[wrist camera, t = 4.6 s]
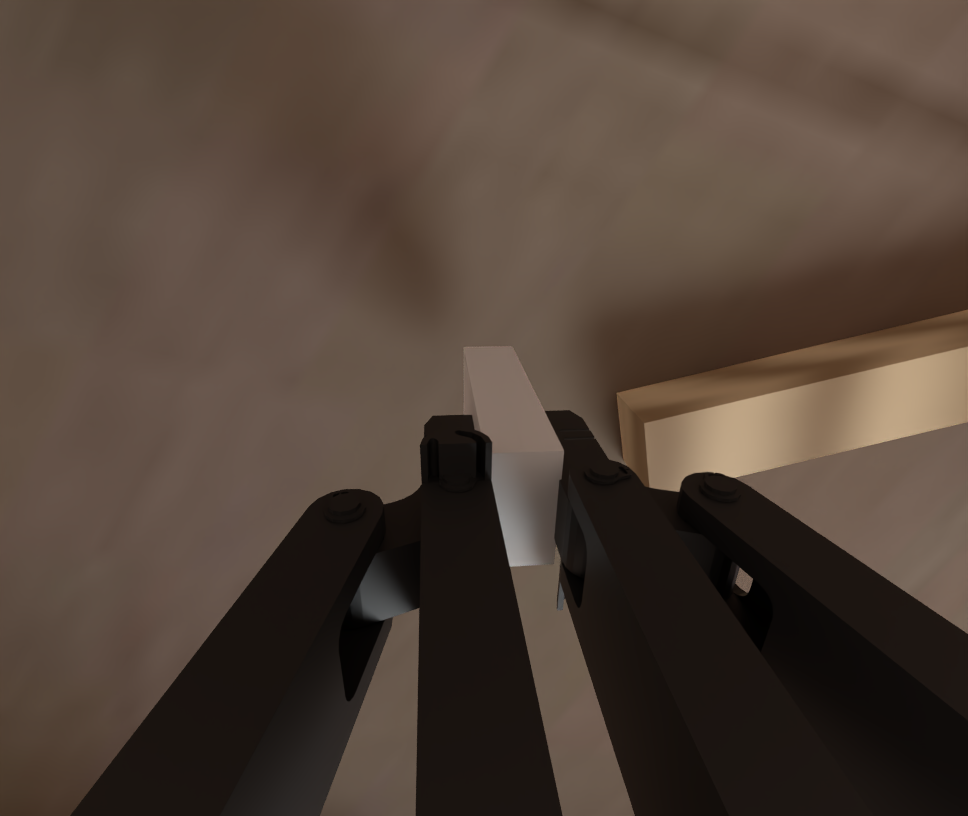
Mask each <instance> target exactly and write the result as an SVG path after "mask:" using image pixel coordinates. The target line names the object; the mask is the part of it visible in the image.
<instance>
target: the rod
mask: <svg viewBox="0 0 968 816" xmlns="http://www.w3.org/2000/svg"><path fill="white" fill-rule="evenodd" d="M616 395H617V404H618V413H619V423H620V432H621V441H622V450H623V460H624V461H625V463H626V464H627V466H628V467H629V468H630V469H631V470H632V471H634V472H635V473H636V474H637V476H638V477H639V479H640V480H641V482H642V483H643V484H644V486H645V487H650V488H655V489H662V490H669V491H680V487H681V482H682V481H683V479H684V478H685V477H686V476H688V475H690V474H693V473H701V472H714V473H721V474H724V475H726V476H729V477H732V478H735V477H739V476H743V475H747V474H752V473H756V472H760V471H764V470H768V469H773V468H777V467H781V466H785V465H789V464H794V463H798V462H802V461H806V460H810V459H814V458H819V457H823V456H827V455H831V454H835V453H840V452H844V451H848V450H852V449H856V448H861V447H865V446H869V445H873V444H877V443H882V442H886V441H890V440H894V439H898V438H902V437H907V436H911V435H915V434H919V433H923V432H928V431H932V430H936V429H940V428H944V427H949V426H953V425H957V424H961V423H965V422H968V310H964V311H960V312H956V313H952V314H947V315H943V316H939V317H935V318H931V319H926V320H922V321H918V322H914V323H909V324H905V325H901V326H897V327H893V328H888V329H884V330H880V331H876V332H871V333H867V334H863V335H859V336H854V337H850V338H846V339H842V340H838V341H833V342H829V343H825V344H821V345H816V346H812V347H808V348H804V349H800V350H795V351H791V352H787V353H783V354H778V355H774V356H770V357H766V358H762V359H757V360H753V361H749V362H745V363H740V364H736V365H732V366H728V367H724V368H719V369H715V370H711V371H707V372H702V373H698V374H694V375H690V376H686V377H681V378H677V379H673V380H669V381H664V382H660V383H656V384H652V385H648V386H643V387H639V388H635V389H631V390H626V391H622V392H618V393H616Z"/></svg>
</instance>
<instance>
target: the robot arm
mask: <svg viewBox="0 0 968 816" xmlns="http://www.w3.org/2000/svg"><path fill="white" fill-rule="evenodd" d="M463 378H464V415H444V416H432V417H431V418H430V419H429V421H428V422H427V423H426V424H425V425H424V438H423V439H422V442H421V444H420V454H421V477H422V485H421V486H420V488H419V489H418V490H417V491H416V492H414V493H413V494H412V495H410V496H408V497H406V498H404V499H402V500H399V501H396V502H392V503H388V504H383V502H382V500H381V499H380V497H379V496H377V495H375V494H374V493H372V492H370V491H365V490H361V489H344V490H340V491H335V492H331V493H329V494H327V495H325V496H323V497H320V498H318V499H317V500H316V501H315V502H314V503H312V504H311V505H310V506H309V507H308V508H307V510H306V511H305V512H304V514H303V515H302V516H301V518H300V519H299V520H298V521H297V523H296V524H295V525H294V527H293V528H292V529H291V530H290V532H289V533H288V534H287V536H286V537H285V538H284V540H283V541H282V542H281V543H280V545H279V546H278V547H277V549H276V550H275V551H274V553H273V554H272V555H271V556H270V558H269V559H268V560H267V562H266V563H265V564H264V565H263V567H262V568H261V569H260V571H259V572H258V573H257V575H256V576H255V577H254V578H253V580H252V581H251V582H250V584H249V585H248V586H247V587H246V589H245V590H244V591H243V593H242V594H241V595H240V597H239V598H238V599H237V600H236V602H235V603H234V604H233V606H232V607H231V608H230V609H229V611H228V612H227V613H226V615H225V616H224V617H223V619H222V620H221V621H220V622H219V624H218V625H217V626H216V628H215V629H214V630H213V631H212V633H211V634H210V635H209V637H208V638H207V639H206V641H205V642H204V643H203V644H202V646H201V647H200V648H199V650H198V651H197V652H196V653H195V655H194V656H193V657H192V659H191V660H190V661H189V663H188V664H187V665H186V666H185V668H184V669H183V670H182V672H181V673H180V674H179V675H178V677H177V678H176V679H175V681H174V682H173V683H172V685H171V686H170V687H169V688H168V690H167V691H166V692H165V694H164V695H163V696H162V697H161V699H160V700H159V701H158V703H157V704H156V705H155V707H154V708H153V709H152V710H151V712H150V713H149V714H148V716H147V717H146V718H145V720H144V721H143V722H142V723H141V725H140V726H139V727H138V729H137V730H136V731H135V732H134V734H133V735H132V736H131V738H130V739H129V740H128V742H127V743H126V744H125V745H124V747H123V748H122V749H121V751H120V752H119V753H118V754H117V756H116V757H115V758H114V760H113V761H112V762H111V764H110V765H109V766H108V767H107V769H106V770H105V771H104V773H103V774H102V775H101V776H100V778H99V779H98V780H97V782H96V783H95V784H94V786H93V787H92V788H91V789H90V791H89V792H88V793H87V795H86V796H85V797H84V798H83V800H82V801H81V802H80V804H79V805H78V806H77V808H76V809H75V810H74V811H73V813H72V814H71V815H70V816H320V813H321V811H322V808H323V805H324V803H325V800H326V797H327V795H328V792H329V789H330V787H331V784H332V782H333V779H334V776H335V774H336V771H337V768H338V766H339V763H340V761H341V758H342V755H343V753H344V750H345V747H346V745H347V742H348V740H349V737H350V734H351V732H352V729H353V726H354V724H355V721H356V718H357V716H358V713H359V711H360V708H361V705H362V703H363V700H364V697H365V695H366V692H367V690H368V687H369V684H370V682H371V679H372V676H373V674H374V671H375V669H376V666H377V663H378V661H379V658H380V655H381V653H382V650H383V647H384V645H385V642H386V640H387V637H388V634H389V632H390V629H391V626H392V619H393V617H394V616H397V615H400V614H403V613H406V612H408V611H411V610H414V609H417V608H420V610H419V665H418V720H417V776H416V816H562V811H561V806H560V802H559V797H558V792H557V787H556V783H555V778H554V773H553V769H552V764H551V759H550V754H549V750H548V745H547V740H546V735H545V731H544V726H543V721H542V717H541V712H540V707H539V702H538V698H537V693H536V688H535V684H534V679H533V674H532V669H531V665H530V660H529V655H528V651H527V646H526V641H525V636H524V632H523V627H522V622H521V618H520V613H519V608H518V603H517V599H516V594H515V589H514V585H513V580H512V575H511V570H510V567H511V566H528V565H545V564H554V557H555V546H556V545H557V548H558V551H559V554H560V557H561V564H560V574H559V584H558V595H557V610H563V601H564V599H566V602H567V605H568V608H569V611H570V614H571V618H572V621H573V624H574V627H575V630H576V633H577V636H578V639H579V642H580V646H581V649H582V652H583V655H584V658H585V661H586V664H587V667H588V671H589V674H590V677H591V680H592V683H593V686H594V689H595V692H596V695H597V699H598V702H599V705H600V708H601V711H602V714H603V717H604V720H605V724H606V727H607V730H608V733H609V736H610V739H611V742H612V745H613V748H614V752H615V755H616V758H617V761H618V764H619V767H620V770H621V773H622V777H623V780H624V783H625V786H626V789H627V792H628V795H629V798H630V801H631V805H632V808H633V811H634V814H635V816H968V634H967V633H965V632H964V631H963V630H961V629H960V628H958V627H957V626H955V625H954V624H952V623H951V622H949V621H948V620H946V619H945V618H943V617H942V616H940V615H939V614H937V613H936V612H934V611H933V610H931V609H930V608H928V607H927V606H926V605H924V604H923V603H921V602H920V601H918V600H917V599H915V598H914V597H912V596H911V595H909V594H908V593H906V592H905V591H903V590H902V589H900V588H899V587H897V586H896V585H894V584H893V583H891V582H890V581H889V580H887V579H886V578H884V577H883V576H881V575H880V574H878V573H877V572H875V571H874V570H872V569H871V568H869V567H868V566H866V565H865V564H863V563H862V562H860V561H859V560H857V559H856V558H854V557H853V556H852V555H850V554H849V553H847V552H846V551H844V550H843V549H841V548H840V547H838V546H837V545H835V544H834V543H832V542H831V541H829V540H828V539H826V538H825V537H823V536H822V535H820V534H819V533H817V532H816V531H815V530H813V529H812V528H810V527H809V526H807V525H806V524H804V523H803V522H801V521H800V520H798V519H797V518H795V517H794V516H792V515H791V514H789V513H788V512H786V511H785V510H783V509H782V508H780V507H779V506H778V505H776V504H775V503H773V502H772V501H770V500H769V499H767V498H766V497H764V496H763V495H761V494H760V493H758V492H757V491H755V490H754V489H752V488H751V487H749V486H748V485H746V484H744V483H743V482H741V481H739V480H737V479H735V478H732V477H729V476H726V475H724V474H721V473H714V472H701V473H693V474H690V475H688V476H686V477H685V478H684V479H683V481H682V482H681V487H680V492H676V491H669V490H662V489H655V488H650V487H645V486H644V484H643V483H642V482H641V480H640V479H639V477H638V476H637V474H636V473H635V472H634V471H632V470H631V469H630V468H629V467H627V466H625V465H623V464H621V463H619V462H616V461H612V460H609V459H608V458H607V456H606V454H605V453H604V451H603V450H602V448H601V447H600V445H599V443H598V442H597V440H596V439H594V436H593V434H592V432H591V431H589V428H588V426H587V425H586V423H585V422H584V420H583V419H582V418H581V417H579V416H578V415H576V414H574V413H573V412H571V411H570V410H564V411H544V409H543V407H542V405H541V403H540V401H539V399H538V397H537V395H536V393H535V391H534V389H533V387H532V385H531V383H530V381H529V379H528V377H527V375H526V373H525V371H524V369H523V367H522V365H521V363H520V361H519V359H518V357H517V355H516V353H515V351H514V349H513V347H512V346H486V347H463ZM739 568H741V569H742V570H744V571H745V572H746V573H747V574H748V575H749V576H750V577H752V578H753V582H752V585H751V588H750V591H749V593H746V592H745V591H743V590H742V589H741V588H739V587H738V586H737V585H736V584H735V582H736V578H737V575H738V571H739Z"/></svg>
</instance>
